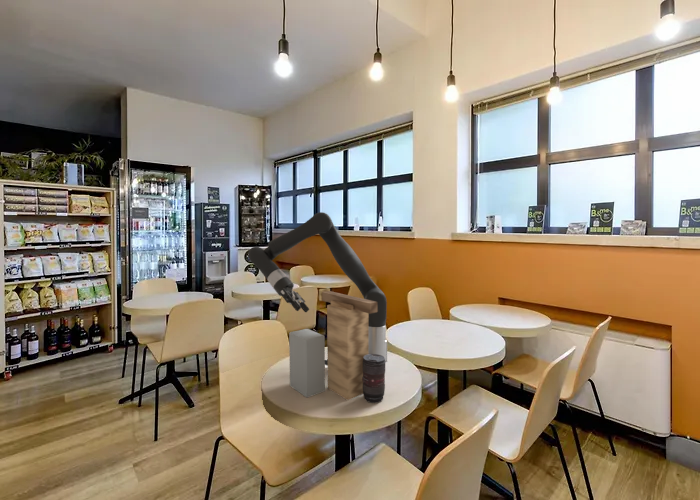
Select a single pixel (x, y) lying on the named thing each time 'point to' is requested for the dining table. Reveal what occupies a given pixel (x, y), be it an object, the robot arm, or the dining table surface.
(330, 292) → the walnut bar
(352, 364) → the oak stand
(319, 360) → the grey block
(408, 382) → the dining table surface
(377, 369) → the camera lens
